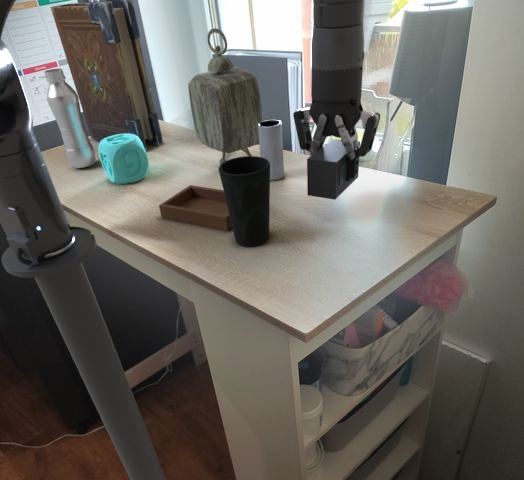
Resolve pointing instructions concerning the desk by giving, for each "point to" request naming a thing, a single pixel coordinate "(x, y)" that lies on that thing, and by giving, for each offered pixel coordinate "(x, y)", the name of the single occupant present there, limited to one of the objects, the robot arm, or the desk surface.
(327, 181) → the black rectangular box
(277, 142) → the grey cylindrical tube
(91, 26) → the decorative book
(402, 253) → the desk surface
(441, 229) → the desk surface
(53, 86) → the silver metal bottle
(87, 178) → the desk surface
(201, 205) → the wooden tray
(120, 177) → the decorative dice
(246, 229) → the cup
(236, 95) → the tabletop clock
